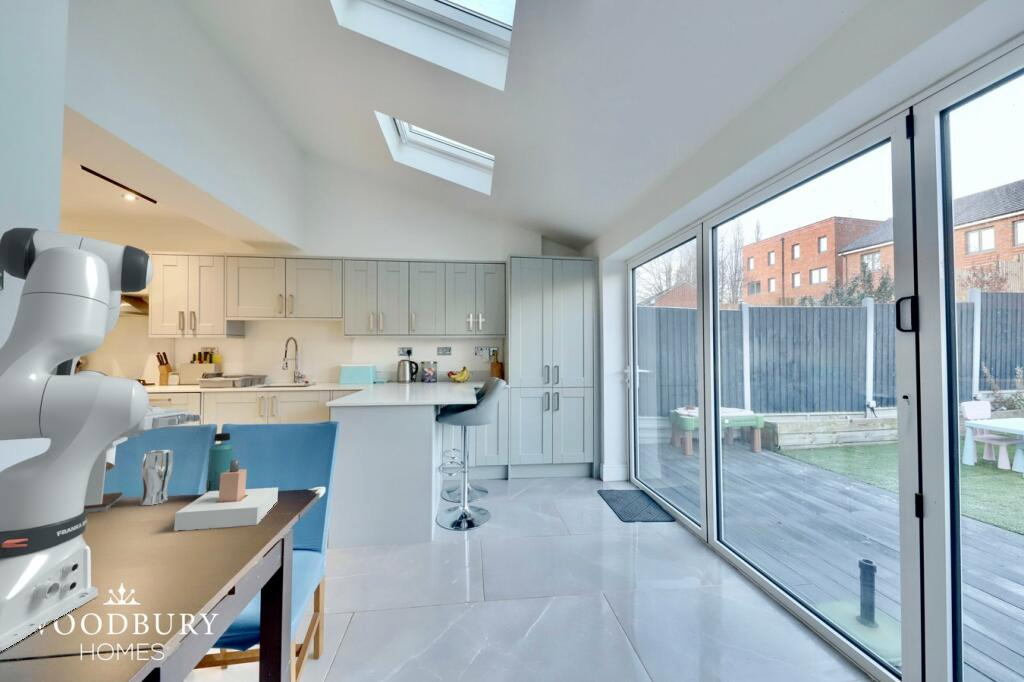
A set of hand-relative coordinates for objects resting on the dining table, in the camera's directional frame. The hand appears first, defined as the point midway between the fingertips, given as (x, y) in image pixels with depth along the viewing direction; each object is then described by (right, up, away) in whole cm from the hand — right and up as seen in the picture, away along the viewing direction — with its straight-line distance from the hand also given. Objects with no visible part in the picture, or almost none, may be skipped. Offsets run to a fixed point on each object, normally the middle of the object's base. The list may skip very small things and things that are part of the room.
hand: (189, 419), depth 107 cm
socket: (+11, -27, 0) cm, 29 cm away
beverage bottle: (-3, -28, +15) cm, 32 cm away
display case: (-33, -26, +4) cm, 42 cm away
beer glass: (-18, -27, +9) cm, 34 cm away
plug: (+11, -27, 0) cm, 29 cm away
